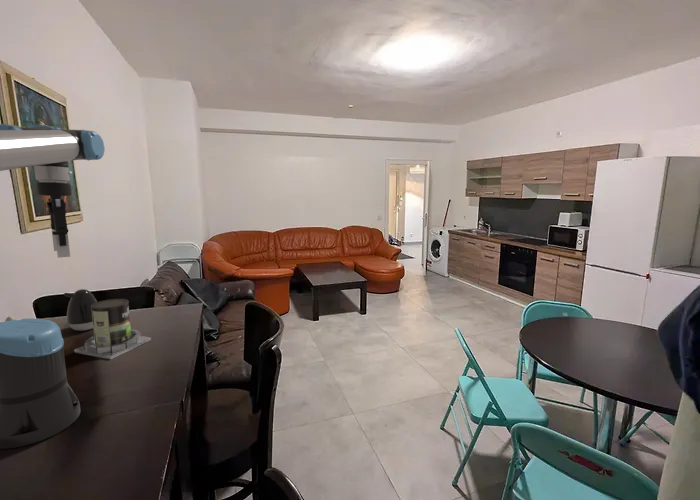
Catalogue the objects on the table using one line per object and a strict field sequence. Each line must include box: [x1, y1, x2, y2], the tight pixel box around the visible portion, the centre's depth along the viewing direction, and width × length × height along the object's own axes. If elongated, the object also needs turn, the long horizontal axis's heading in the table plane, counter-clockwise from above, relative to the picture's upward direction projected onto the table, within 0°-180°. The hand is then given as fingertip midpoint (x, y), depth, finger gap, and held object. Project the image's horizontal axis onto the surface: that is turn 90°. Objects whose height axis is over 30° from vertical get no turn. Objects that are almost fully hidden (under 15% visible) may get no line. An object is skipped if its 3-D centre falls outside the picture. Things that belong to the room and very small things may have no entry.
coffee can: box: [91, 298, 132, 346], centre depth 112 cm, size 10×10×14 cm
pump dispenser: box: [63, 288, 98, 332], centre depth 127 cm, size 10×10×15 cm
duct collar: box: [74, 328, 152, 360], centre depth 114 cm, size 15×15×3 cm
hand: (61, 253), depth 102 cm, fingers open, 13 cm apart
